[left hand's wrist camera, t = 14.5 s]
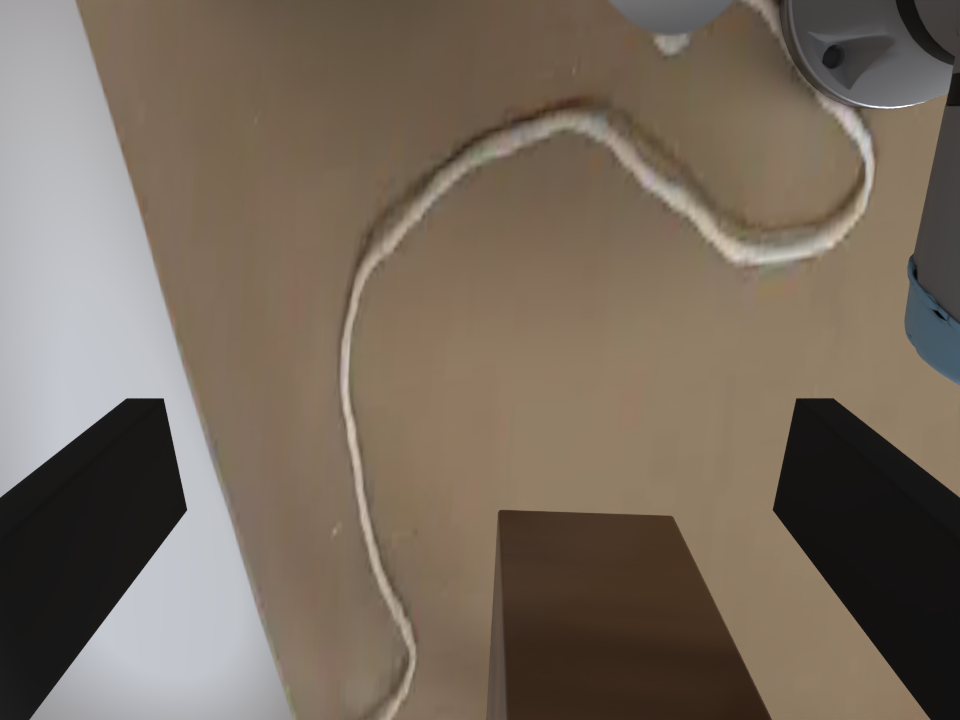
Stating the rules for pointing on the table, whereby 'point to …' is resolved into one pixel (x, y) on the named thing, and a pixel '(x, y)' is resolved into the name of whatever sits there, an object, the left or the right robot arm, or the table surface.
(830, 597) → the table surface
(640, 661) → the bar
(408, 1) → the table surface
